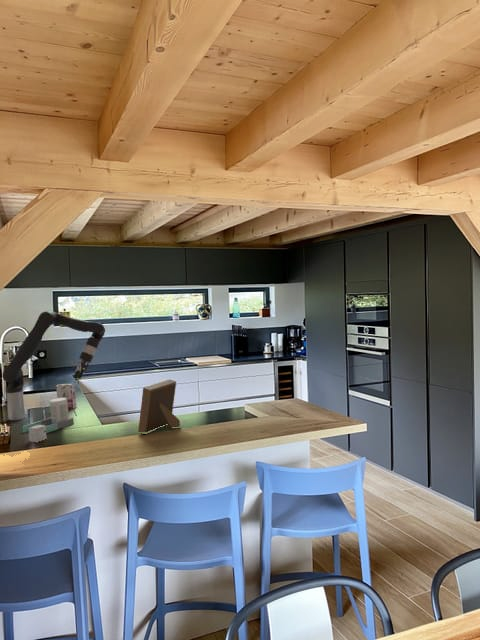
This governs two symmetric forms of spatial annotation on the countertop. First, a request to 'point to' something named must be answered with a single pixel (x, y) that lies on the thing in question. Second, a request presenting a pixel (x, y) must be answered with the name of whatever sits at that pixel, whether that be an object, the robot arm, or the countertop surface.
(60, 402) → the supplement tub
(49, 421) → the chute
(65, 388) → the candy bar box
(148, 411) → the photo frame
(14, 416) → the robot arm
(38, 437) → the skincare box
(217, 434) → the countertop surface
